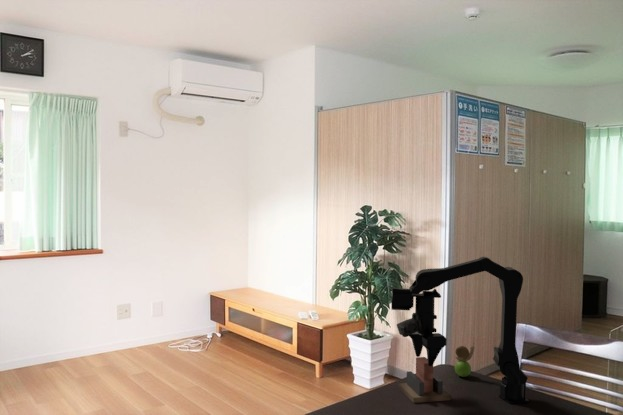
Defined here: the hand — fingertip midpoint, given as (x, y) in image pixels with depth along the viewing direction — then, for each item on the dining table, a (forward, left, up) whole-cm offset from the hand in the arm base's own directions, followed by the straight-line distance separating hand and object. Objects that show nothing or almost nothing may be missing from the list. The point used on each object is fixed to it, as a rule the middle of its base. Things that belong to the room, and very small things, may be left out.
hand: (423, 361), depth 161 cm
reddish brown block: (0, 0, -9) cm, 9 cm away
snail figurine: (-20, -12, -10) cm, 26 cm away
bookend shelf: (0, 0, -10) cm, 10 cm away
